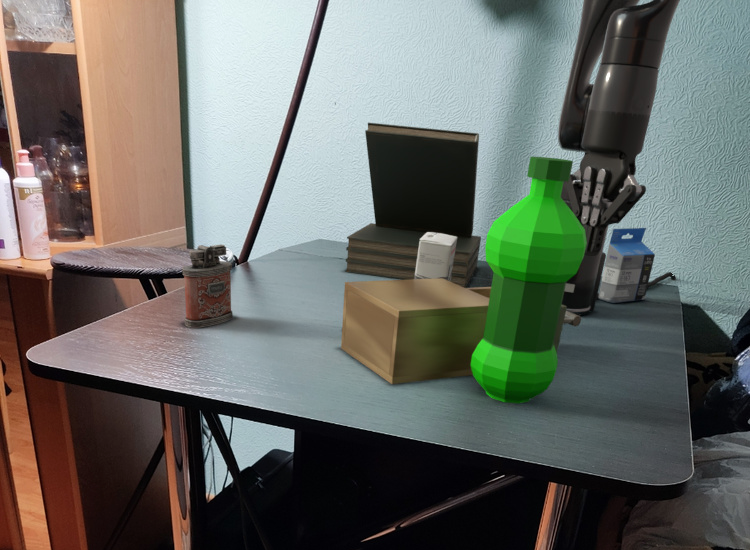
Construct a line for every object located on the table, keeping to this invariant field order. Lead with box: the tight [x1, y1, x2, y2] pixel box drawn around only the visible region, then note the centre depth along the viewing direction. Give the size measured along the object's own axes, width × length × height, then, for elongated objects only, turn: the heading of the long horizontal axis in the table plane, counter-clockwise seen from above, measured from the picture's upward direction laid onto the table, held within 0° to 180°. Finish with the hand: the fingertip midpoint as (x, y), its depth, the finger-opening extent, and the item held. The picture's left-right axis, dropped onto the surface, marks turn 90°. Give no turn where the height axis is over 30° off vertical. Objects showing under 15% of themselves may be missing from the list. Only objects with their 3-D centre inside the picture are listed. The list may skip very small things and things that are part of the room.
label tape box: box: [597, 227, 656, 304], centre depth 130 cm, size 9×4×12 cm, turn 123°
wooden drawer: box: [466, 286, 582, 354], centre depth 96 cm, size 19×12×7 cm, turn 118°
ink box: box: [414, 232, 457, 281], centre depth 108 cm, size 9×5×12 cm, turn 168°
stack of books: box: [344, 122, 482, 288], centre depth 135 cm, size 23×20×25 cm
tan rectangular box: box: [340, 278, 489, 385], centre depth 90 cm, size 15×14×9 cm
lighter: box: [182, 244, 233, 329], centre depth 98 cm, size 8×3×10 cm, turn 148°
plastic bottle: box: [471, 156, 587, 405], centre depth 78 cm, size 10×10×25 cm
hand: (588, 254), depth 97 cm, fingers closed
